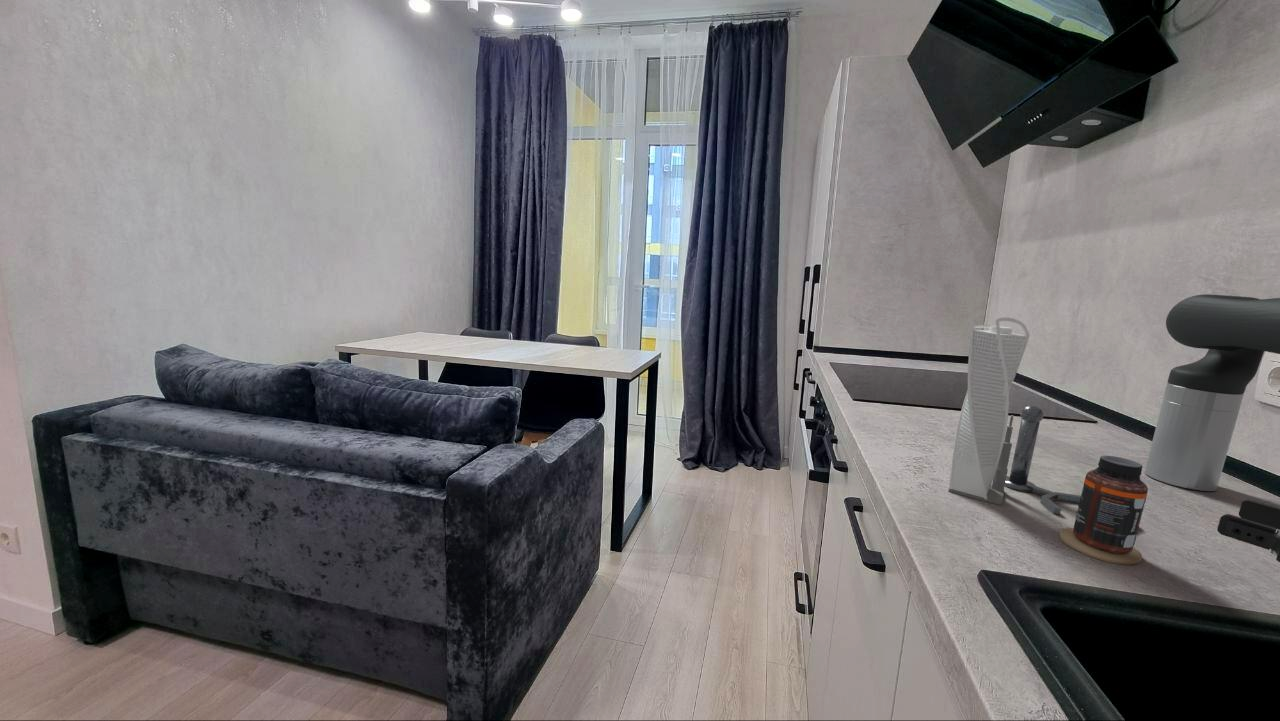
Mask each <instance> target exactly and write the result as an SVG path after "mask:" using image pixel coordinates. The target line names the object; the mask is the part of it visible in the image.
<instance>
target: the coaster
mask: <svg viewBox="0 0 1280 721" xmlns="http://www.w3.org/2000/svg"><path fill="white" fill-rule="evenodd" d="M1073 529H1074V527H1065V528H1063V529H1061V530H1060V533H1059V538H1060V540H1061V542H1062V543H1064V544H1065V545H1067V546H1068V547H1070V548H1071V549H1073V550H1075V551H1077V552H1078V553H1080V554H1081V553H1082V554H1084V555H1086V556H1088V557H1090V558H1094V559H1096V560H1100V561H1103V562H1107V563H1111V564H1117V565H1123V566H1136V565H1138V564H1140V563H1141V561H1142V557H1143V556H1142V553H1141V551H1139V550H1138V549H1137V548H1136V547H1134V546H1133V550H1132V551H1131V552H1129V553H1126V554H1119V553H1112V552H1107V551H1104V550H1100V549H1097V548H1094V547H1091V546H1089V545H1087V544H1085V543H1084V542H1082V541H1080V540H1079V539H1078V538H1076V537H1075V535H1074V534H1073Z"/></svg>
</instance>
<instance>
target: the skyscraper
mask: <svg viewBox="0 0 1280 721" xmlns="http://www.w3.org/2000/svg"><path fill="white" fill-rule="evenodd" d="M1000 322H1011V323H1015V324H1017V325H1018V326H1020V327H1021V328H1022V329H1023V331H1024V333H1025V335H1024V334H1021V333H1020V334H1019V333H1014V332H1013V327H1009V326H1008V327H1007V326H1000ZM978 328H981V329H978ZM985 328H986V329H989V330H985ZM982 329H983V330H982ZM969 338H970V339H969V347H968V348H969V349H968V361H967V391H966V394H965V397H964V400H963V402H962V403H963V404H962V407H961V410H960V415H959V419H958V423H957V428H956V432H955V439H954V444H953V452H952V458H951V468H950V475H949V482H948V483H949V486H948V492H949V493H954V494H957V495H960V496H961V495H962V496H964V497H968V498H972V499H975V498H976V500H979V499H980V500H979V501H983V502H986V501H987V503H990V504H994V505H998V506H1002V505H1003V504H1002V503H1003V498H1004V494H1005V481H1006V476H1008V466H1009V461H1010V457H1011V452H1012V451H1011V450H1012V445H1013V442H1011V438H1012V435H1013V434H1012V433H1013V430H1014V429H1013V428H1014V426H1013V422H1014V415H1013V414H1012V415H1010V419H1009V418H1008V417H1009V407H1010V406H1009V403H1010V395H1009V393H1010V389H1011V388H1012V385H1013V383H1014V380H1015V378H1016V376H1017V372H1018V370H1019V367H1020V365H1021V362H1022V359H1023V356H1024V354H1025V351H1026V347H1027V345H1028V342H1029V340H1030V333H1029V330H1028V328H1027V326H1026V325H1025V324H1024V323H1023V322H1022V321H1021V320H1019V319H1015V318H1011V317H999V318H997V319H995V325H990V324H973V325H972V326H971V328H970V337H969ZM1008 419H1009V423H1008ZM1008 424H1009V425H1008Z"/></svg>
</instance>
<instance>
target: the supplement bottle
mask: <svg viewBox="0 0 1280 721" xmlns="http://www.w3.org/2000/svg"><path fill="white" fill-rule="evenodd" d="M1097 465H1098V466H1097V467H1096V468H1095V469H1092V470H1090V471H1088V472H1087V473H1086V475H1085V477H1084V481H1083V482H1084V483H1083V486H1082V489H1081V495H1080V496H1081V498H1080V502H1079V503H1078V507H1077V511H1076V516H1075V521H1074V524H1073V528H1074V529H1073V534H1074V535H1075V537H1076V538H1078V539H1079V540H1080V541H1082V542H1084V543H1085V544H1087V545H1089V546H1091V547H1094V548H1097V549H1100V550H1104V551H1107V552H1112V553H1119V554H1126V553H1129V552H1131V551H1132V550H1133V547H1134V546H1135V543H1136V539H1137V535H1138V530H1139V528H1140V524H1141V519H1142V515H1143V512H1144V508H1145V503H1146V500H1147V495H1148V492H1149V488H1148V486H1147V484H1146V483H1145V482H1144V481H1142V480H1141V476H1142V470H1143V465H1142V463H1139V462H1137V461H1135V460H1132V459H1129V458H1124V457H1119V456H1114V455H1101V456H1100V457H1099V461H1098V463H1097Z"/></svg>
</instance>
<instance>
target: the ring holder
mask: <svg viewBox="0 0 1280 721" xmlns="http://www.w3.org/2000/svg"><path fill="white" fill-rule="evenodd" d="M1020 418H1021V421H1020V426H1019V428H1018V429H1019V431H1018V434H1017V440H1016V445H1015V450H1014V454H1013V460H1012V463H1011V464H1012V465H1011V469H1010V473H1009V474H1010V475H1007V476H1006V481H1005V486H1004V488H1005V487H1006V488H1008V489H1011V490H1014V491H1018V492H1023V493H1033V494H1037V495H1039V496H1041V498H1040V502H1039V503H1040V504H1041V505H1042V506H1043V507H1044V508H1045V509H1047V510H1048V511H1049V512H1051V514H1052V515H1058V516H1060V515H1061V511H1062V508H1061V507H1060V506H1058V505H1057V504H1056V503H1055V502H1056V501H1061V502H1062V501H1063V502H1067V503H1075V504H1079V502H1080V498H1081V495H1079V494H1073V493H1064V492H1057V491H1052V490H1048V489H1045V488H1043V487H1039V486H1037V485H1036V484H1035V483H1033V482H1031V481H1028V479H1029V475H1030V469H1031V465H1032V460H1033V456H1034V451H1035V446H1036V442H1037V438H1038V432H1039V428H1040V423H1041V421H1042V420H1044V412H1043V410H1042V409H1041V408H1040V407H1039V406H1037V405H1032V404H1030V405H1026V406H1024V407H1023V408H1022V409H1021V411H1020Z"/></svg>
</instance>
